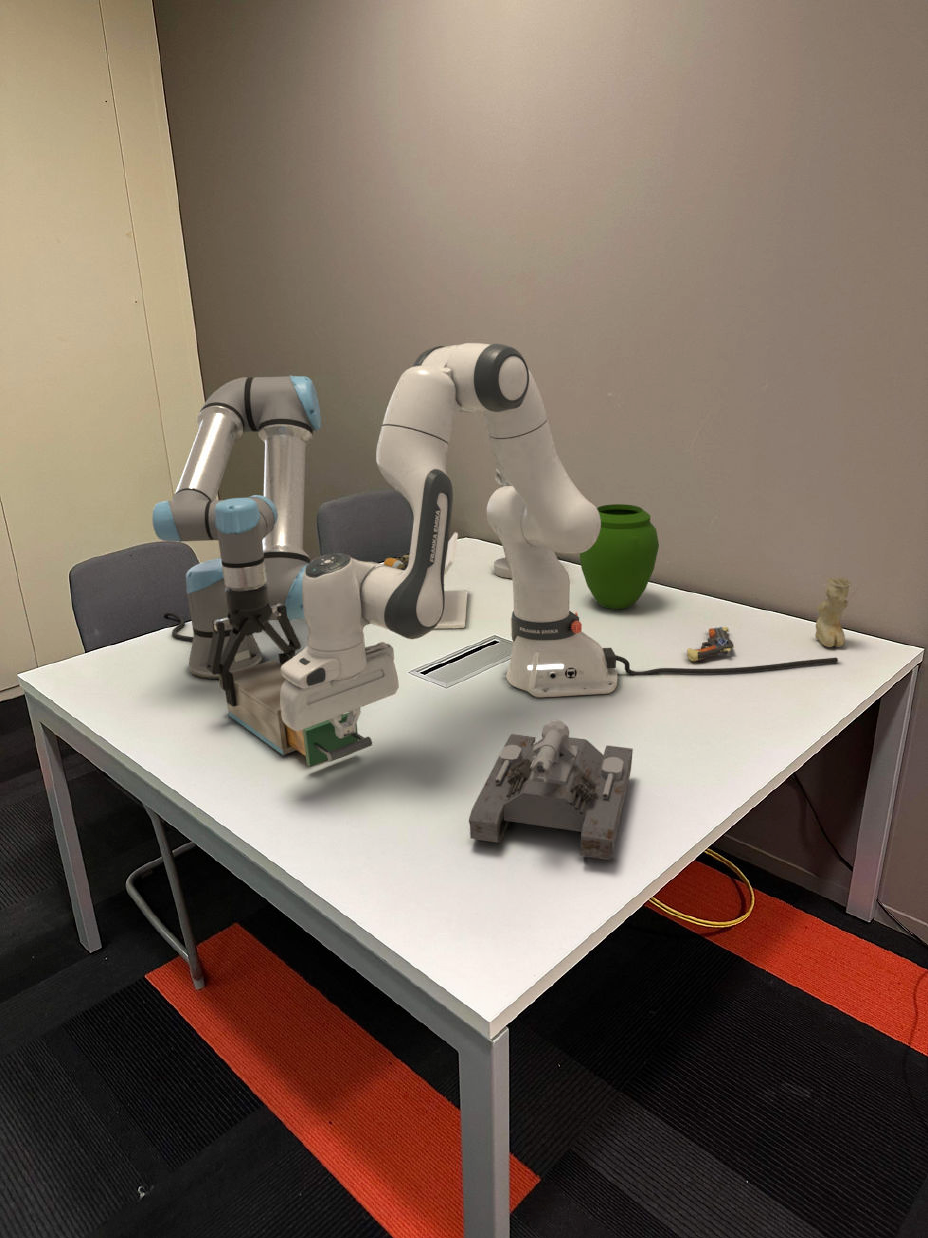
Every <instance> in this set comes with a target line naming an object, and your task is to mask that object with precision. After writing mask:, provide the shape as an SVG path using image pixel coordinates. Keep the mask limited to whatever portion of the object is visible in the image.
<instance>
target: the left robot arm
mask: <svg viewBox="0 0 928 1238" xmlns="http://www.w3.org/2000/svg"><path fill="white" fill-rule="evenodd" d="M196 422H197V427H198V431H197V433H196V436H195V439H194V441H193V444H192V447H191V450H190V452H189V455H188V458H187V461H186V463H185V466H184V468H183V471H182V474H181V476H180V479H179V482H178V485H177V488H176V490H175V493H174V496H173V498H172V499H171V500H169V499H167V500H164V501H159V502H157V503H156V504H155V505H154V506H153V508H152V516H151V519H152V521H151V522H152V527H153V530H154V532H155V535H156V537H157V538H158V539H159V540H161V541H163V542H178V543H182V542H203V541H204V542H205V541H218V546H219V547H218V548H219V553H220V557H217V558H213V559H209V560H206V561H202V562H200V563H197V564H195V565H193V566H192V567H190V568H189V570H187V572H186V574H185V584H186V590H185V592H186V594H187V601H188V608H189V612H190V613H189V614H190V620H191V626H192V632H193V636H190V635H189V636H188V635H182V634H179V633H178V631H180V630H181V629H182V628H183V627H184V626H185V624H186V621H185V619H184V618H183V617H182V616H181V615H179V614H178V613H175V612H174V611H166V612H165V613H164V614H163V617H162V618H164V619H167V618H168V617H169V616H170V617H173V618H175V619H177V620H178V621H179V624H178V625H176V626H175V627H174V628H173V629H172V631H171V635H172V636H173V637H174V638H175V639H177V640H182V641H189V642H192V644H191V648H190V654H189V659H188V666H189V671H190V673H191V674H192V675H194V676H196V677H198V678H203V679H208V680H209V679H211V680H218V681H219V682H218V683H219V687H220V689H221V690H223V691H225V698H226V704H227V703H229V704H230V705H231V706H233V707H234V706H237V703H236V696H235V688H234V681H233V674H232V672H235V671H238V670H242V669H245V668H248V667H252V666H255V665H258V664H262V663H263V655H262V650H261V648H260V646H259V644H258V642H257V641H256V639H255V636H254V634H260V633H263V631H264V633H265V634H266V635H267V636H268V637H269V638H270V639H271V640H272V641H273V642H274V644H275V645H276V646H277V647H278V648H279V649H280V651H281V652H280V653H278V660H279V661H278V662H280V663H282V664H284V663H286V662H287V661H289V660H290V659H292V658H293V657H294V656H296V651H299V650H301V648H302V644H301V642H300V640H299V638H298V636H297V634H296V632H295V630H294V628H293V625H292V624H291V622H290V621H293V620H294V621H295V620H305V617H304V609H303V598H302V581H303V574H304V570H305V568H306V566H307V565H308V564H309V563H310V562H311V556H309V554H307V553H306V551H305V550H304V533H305V532H304V529H305V528H304V525H305V487H306V486H305V484H306V446H308V445H309V444H310V443H311V442H312V441H313V438H314V437H313V436H314V432H317V431H320V430H321V428H322V415H321V408H320V403H319V398H318V393H317V391H316V387H315V385H314V383H313V380H312V379H311V378H310V377H308V376H303V375H301V376H300V375H299V376H298V375H297V376H296V375H292V374H291V375H287V376H257V377H256V376H254V377H251V376H247V377H245V376H244V377H239V378H235V379H232V380H231V381H228V382H226V383H224V384H223V385H222V386H220V387H219V388H217V389H216V390H215V391H214V392H213V393H211V395H210V396H209V397H208V398H207V399H206V401H205V402H204V404H203V405H202V406H201V409H200V411H199V413H198V415H197V421H196ZM249 432H253V433H255V432H257V433H258V437H259V439H260V440H261V441H262V442H263V443H264V473H263V475H264V476H263V495H259V494H254V495H251V496H248V497H233V498H227V499H220V500H218V499H217V496H218V493H219V490H220V487H221V484H222V481H223V478H224V475H225V472H226V469H227V466H228V462H229V460H230V457H231V454H232V451H233V448H234V446H235V445H234V444H235V443H237V442H238V441H239V440H240V439H241V437H242V435H243V434H245V433H249ZM216 499H217V500H216ZM269 621H277V622H278V624H279V626H280V628H281V630H282V633H283V634H284V636H285V638H286V640H287V642H286V641H285V640H284V639H283V638H282V636H281V635H280V634H279V633H278V632H277V630H275V628H274V626H272V624H271V623H270V622H269Z"/></svg>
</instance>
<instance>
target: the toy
mask: <svg viewBox="0 0 928 1238" xmlns="http://www.w3.org/2000/svg"><path fill="white" fill-rule="evenodd" d="M536 738H537V737H536V736H532V735H531V736H530V735H523V734H515V733H511V734H510V735H509V736H508V738H507V740H506V742H505V744H504V746H503V748H502V750H501V751H500V753H499V755H498V757H497V760H496V761H495V764H494V765H493V767H492V769H491V771H490V773H489V775H488V777H487V779H486V781H485V783H484V784H483V787H482V788H481V790H480V793H479V795H478V796H477V798H476V800H475V802H474V805H473V806H472V808H471V811H470V814H469V816H468V817H469V818H468V824H469V837H470V840H471V839H472V840H477V841H482V842H489V843H497V844H501V842H502V840H503V838H504V835H505V833H506V831H507V829H508V826H509V824H510V822H512V823H519V824H525V825H532V826H540V827H546V828H552V829H553V828H554V829H560V830H566V831H567V830H568V831H574V832H581V834H580V856H581V857H587V858H593V859H600V860H607V861H610V860H611V854H613V853H614V847H615V843H616V839H617V834H618V829H619V825H620V822H621V817H622V812H623V808H624V803H625V799H626V794H627V790H628V785H629V781H630V776H631V772H632V764H633V752H634V748H631V747H623V746H614V745H606V746H605V747H604V748H605V749H604V752H603V753H602V752H601V751H600V750H599V749H598V748H596V747H595V746H594V745H593V743H592V742H589V740H588V739H586V738H579V737H570V729H569V727H568V726H567V724H566V723H565V722H564V721H562V720H553V719H551V720H550V721H548V723H546V724H544V726H543V727H542V730H541V739H539V740H538V741H537V739H536Z"/></svg>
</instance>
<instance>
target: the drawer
mask: <svg viewBox="0 0 928 1238" xmlns="http://www.w3.org/2000/svg"><path fill="white" fill-rule="evenodd" d="M348 714H349V712H347V713H345V714H342V715H341V720H340V721H338V722H339V723H340V724H341V723H343V722H346V720H347V717H348ZM357 722H358V721H357ZM357 722H356V732H355V733H353V734H350V735H348V736H346V737H343V738H341V739H340V738H339V737H337V736H336V734H335V726H333V724H332V723H331V722H330V721H329V720H326V721H324V722H321V723H319V724H316V725H313V726H311V727H308V728H306V729H303V730H300V731H294V730H293V729H291V728H289V727H288V726H287V725H286V724H285V723H284V726H285V734H286V742H287V743H288V744H289V745H290V746H292V747H293V748H295V749H296V751H297V752H299V753H300V754H301V755H303V756H304V757H305V762H306V765H307V766H309V767H312V766H315V765H317V764H320V763H323V762H325V761H327V760H328V761H329V762H334V761H336V760H338V759H341V758H343V757H347V756H349V755H352V754H354V753H357V752H360V751H361V750H364V749H367V748H370V747H371V746H373V740H372V738H371V737H370V736H366V737H364V736H363V735H361V734H359V733H358V723H357Z"/></svg>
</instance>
